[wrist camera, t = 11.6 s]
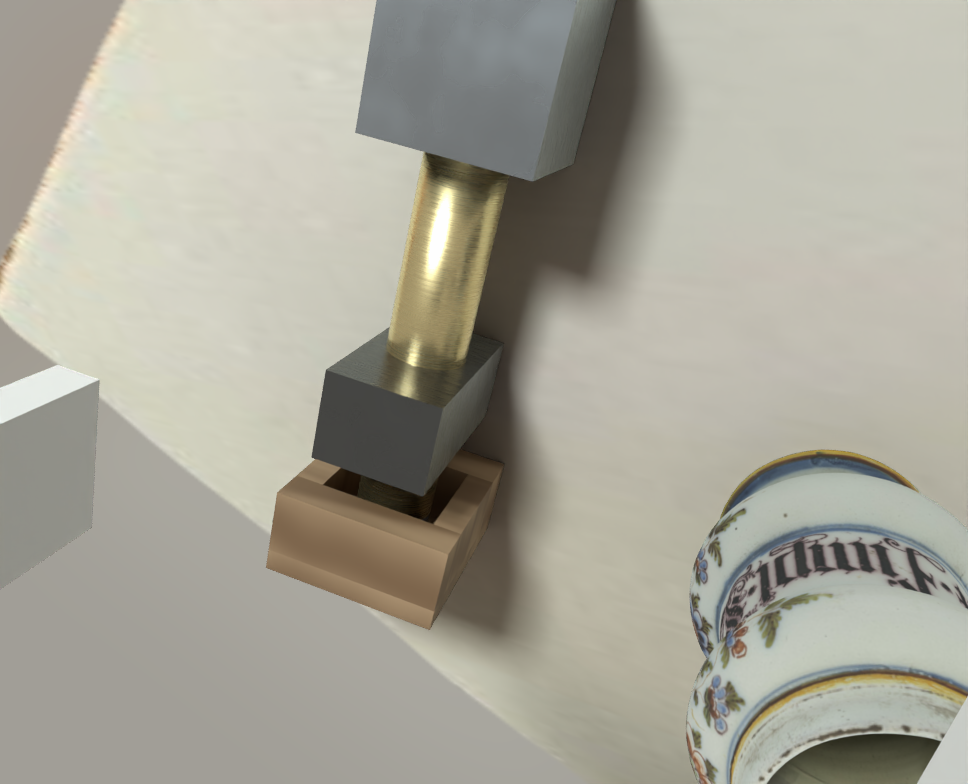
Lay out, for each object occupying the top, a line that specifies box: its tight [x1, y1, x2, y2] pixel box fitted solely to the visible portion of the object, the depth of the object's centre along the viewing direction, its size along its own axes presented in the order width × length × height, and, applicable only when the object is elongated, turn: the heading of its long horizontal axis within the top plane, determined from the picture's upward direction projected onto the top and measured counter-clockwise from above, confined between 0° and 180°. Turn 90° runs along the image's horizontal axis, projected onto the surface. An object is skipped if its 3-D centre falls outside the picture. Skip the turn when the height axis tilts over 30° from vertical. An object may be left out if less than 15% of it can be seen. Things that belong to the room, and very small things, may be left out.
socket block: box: [266, 449, 504, 630], centre depth 41 cm, size 4×8×10 cm, turn 77°
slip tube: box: [312, 152, 509, 522], centre depth 37 cm, size 20×5×10 cm, turn 167°
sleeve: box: [355, 0, 616, 182], centre depth 33 cm, size 9×7×8 cm
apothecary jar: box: [686, 450, 968, 784], centre depth 32 cm, size 12×12×18 cm
